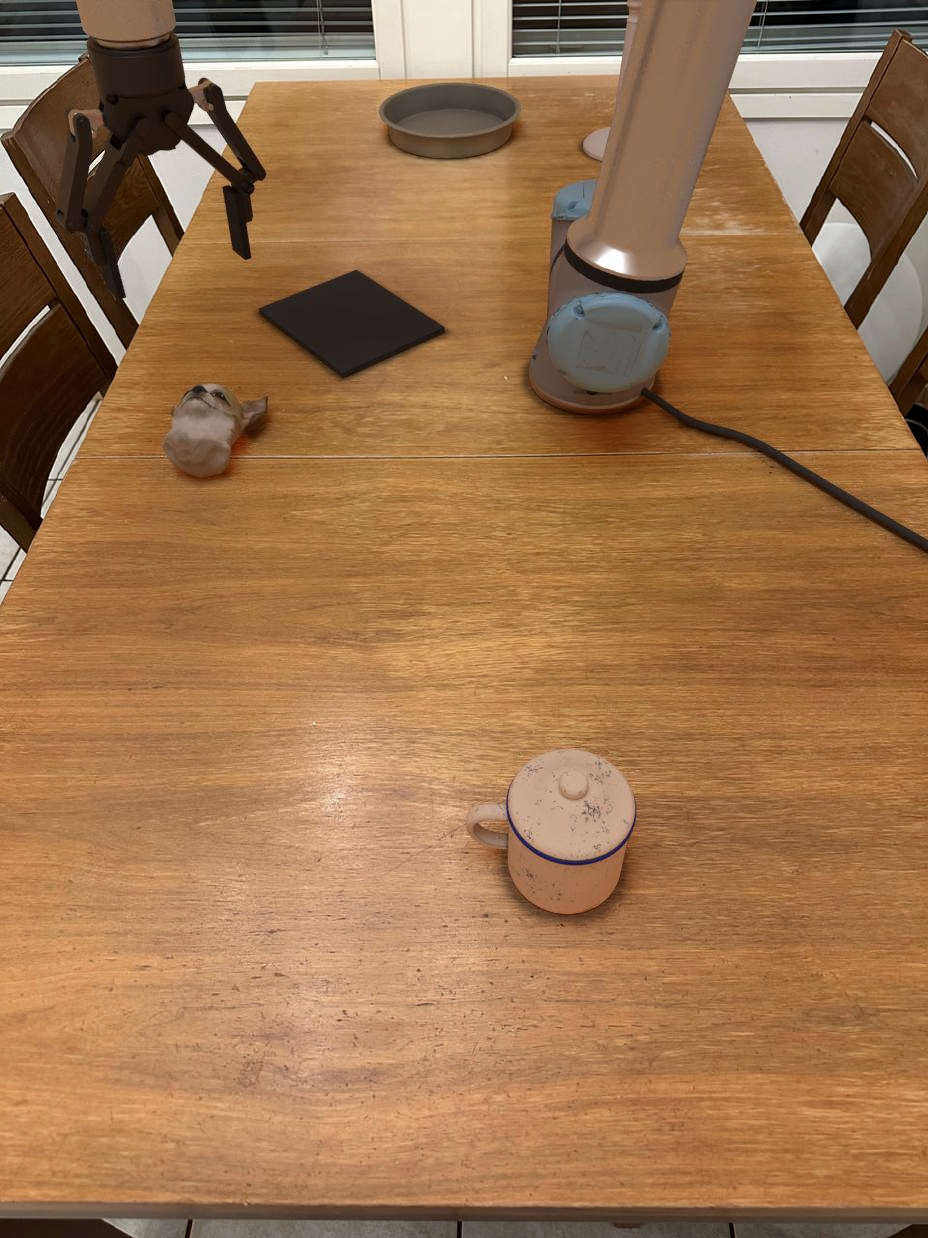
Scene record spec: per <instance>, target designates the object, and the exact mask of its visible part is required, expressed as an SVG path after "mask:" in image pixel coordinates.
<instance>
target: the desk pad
mask: <svg viewBox="0 0 928 1238" xmlns="http://www.w3.org/2000/svg"><path fill="white" fill-rule="evenodd" d="M258 313H259V315H260V316H262V317H263V318H264V319H266V320H267V321H268V322H270V323H271V324H272V325H273V326H275V327H276V328H277V329H278V330H280V331H281V332H282V333H284V334H285V335H286V336H288V337H289V338H290V339H292V340H293V341H294V342H295V343H297V344H298V345H299V346H301V347H302V348H303V349H305V350H306V351H308V352H309V353H310V354H311V355H313V356H314V357H315V358H316V359H318V360H319V361H321V362H322V363H323V364H324V365H325V366H327V367H328V368H330V369H331V370H332V371H334V373H336V374H337V375H339V376H340V377H341V378H343V379H344V378H347V377H349V376H351V375H354V374H356V373H358V372H360V371H362V370H365V369H367V368H369V367H371V366H374V365H375V364H377V363H379V362H382V361H385V360H387V359H389V358H391V357H393V356H395V355H398V354H400V353H402V352H405V351H407V350H410V349H411V348H414V347H415V346H418V345H420V344H422V343H424V342H426V341H429V340H432V339H433V338H436V337H437V336H440V335H443V334H444V333H445V326H444V325H442V324H440V323H439V322H437V321H436V320H435V319H433V318H431V317H430V316H428V315H427V314H425V313H424V312H422V311H420V310H419V309H417V308H416V307H414V306H413V305H412V304H410V303H409V302H407V301H405V300H403V299H402V298H401V297H400V296H398V295H396V294H395V293H394V292H391V291H390V290H389V289H388V288H385V287H384V286H383V285H381V284H379V282H376V281H375V280H374V279H372V278H370V277H369V276H367V275H366V274H364V273H362V272H361V271H359V270H358V269H353V270H352V271H349V272H347V273H344V274H342V275H339V276H337V277H333V278H331V279H329V280H326V281H324V282H321V283H319V284H317V285H314V286H312V287H308V288H307V289H304V290H301V291H298V292H296V293H294V294H291V295H289V296H286V297H283V298H280V299H279V300H276V301H274V302H270V303H269V304H266V305H264V306H260V307H258Z"/></svg>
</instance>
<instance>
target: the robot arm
mask: <svg viewBox="0 0 928 1238" xmlns="http://www.w3.org/2000/svg"><path fill="white" fill-rule="evenodd" d="M75 3H76V7H77V11H78V15H79V18H80V19H79V20H80V23H81V27H82V30H83V32H84V33H85V34H86V35H87V36H89V37H88V38H87V41H86V50H87V53H88V58H89V62H90V66H91V70H92V74H93V78H94V82H95V86H96V90H97V94H98V106H97V108H96V109H95V108H94V109H83V110H79V109H78V108H76V107H74V106H67V107H66V109H65V111H64V118H65V124H66V131H67V139H66V140H67V141H66V147H65V153H64V158H63V164H62V169H61V176H60V181H59V188H58V193H57V199H56V205H55V209H54V210H55V211H54V219H55V220H56V221H57V223H58V224H59V225H60V226H61V227H62V228H63V229H64V230H65V231H67V232H68V233H69V234H74V233H77V232H79V233H81V236H82V239H83V243H84V247H85V250H86V254H87V257H88V259H90V261H91V262H92V263H93V264H94V265H95V266H96V267H98V268H99V267H101V269H102V273H103V277H104V280H105V283H106V288H107V289H108V290H109V291H110V292H111V293H112V294H113V296H115V298H116V299H117V300H119V301H120V300H124V299H125V298H127V294H126V290H125V287H124V282H123V279H122V276H121V275H122V274H121V271H120V268H119V264H118V260H117V256H116V252H115V248H114V245H113V241H112V236H111V233H110V231H109V230H108V229H107V228H105V226H104V225H103V223H104V221H105V219H106V217H107V214H108V212H109V210H110V208H111V206H112V203H113V201H114V199H115V197H116V194H117V193H118V191H119V188H120V186H121V184H122V181H123V180H124V178H125V175H126V173H127V171H128V169H129V168H131V167H132V166H133V164H134V163H135V160H136V158H137V157H138V155H140V156H142V157H144V158H145V157H149V156H153V155H155V154H156V153H158V152H160V151H162V152H163V151H164V152H167V151H168V152H170V151H173V150H177V146H178V145H179V144H180V143H181V141H182V142H184V143H185V144H186V146H188V147H189V148H190V149H191V150H193V151H194V152H195V153H196V154H197V155H198V156H199V157H200V158H202V159H203V160H204V161H205V162H206V163H207V164H208V165H210V166H211V167H212V168H213V169H214V170H216V172H218V173H219V174H220V175H221V176H222V177H224V179H226V180H227V181H228V182H229V183H230V184H231V185H230V184H227V185H223V186H222V187H221V189H222V195H223V201H224V207H225V212H226V213H225V214H226V219H227V225H228V231H229V237H230V244H231V249H232V251H233V252H234V253H236V255H238V256H239V257H240V258H242V259H243V260H244V261H249V260H251V259H252V251H251V245H250V239H249V238H250V237H249V231H248V225H247V223H251V222H253V218H254V212H253V206H252V198H251V195H253V194H254V192H255V191H256V187H255V183H257V182H262V181H264V180H265V179H266V177H267V171H266V169H265V168H264V166H263V164H262V163H261V161H260V160H259V158H258V157H257V155H256V153H255V152H254V150H253V149H252V147H251V146H250V144H249V142H248V141H247V139H246V138H245V136H244V134H243V133H242V131H241V129H240V128H239V127H238V125H237V124H236V122H235V120H234V119H233V117H232V116H231V114H230V113H229V111H228V108H227V105H226V104H227V103H226V101H225V96H224V93H223V90H222V88H221V87H220V86H219V85H217V84H216V83H214V82H213V81H212V80H210V79H208V78H207V77H201V78H199V79H198V81H197V85H194V86H192V87H189V88H188V86H187V83H186V73H185V68H184V61H183V56H182V51H181V44H180V38H179V36H178V35H177V34H175V32H174V31H173V30H175V28H176V26H177V20H176V16H175V10H174V5H173V0H75ZM757 3H758V0H643V1H642V5H641V9H640V13H639V17H638V21H637V25H636V29H635V33H634V37H633V41H632V45H631V49H630V52H629V56H628V60H627V64H626V68H625V72H624V76H623V80H622V84H621V88H620V92H619V96H618V100H617V104H616V108H615V107H614V110H615V112H614V111H613V115H612V121H611V123H610V126H609V127H610V131H609V135H608V139H607V143H606V147H605V151H604V155H603V159H602V161H601V164H600V166H599V171H598V175H597V178H592V179H582V180H579V181H574V182H571V183H569V184H567V185H564V186H563V187H561V188H560V189H559V190H558V191H557V192H556V194H555V196H554V198H553V202H552V203H553V204H552V210H551V211H552V212H551V213H550V215H549V216H550V219H551V230H550V231H551V232H550V250H549V270H548V287H547V288H548V289H547V309H546V318H545V322H544V324H543V326H542V328H541V331H540V334H539V336H538V339H537V341H536V345H535V346H534V349H533V351H532V352H531V355H530V360H529V364H528V365H529V366H528V379H529V380H528V381H529V385H530V387H531V388H532V390H533V392H534V393H535V394H536V395H537V396H538V397H539V398H540V399H541V400H542V401H544V402H546V403H548V404H549V405H551V406H553V407H555V408H558V409H560V410H564V411H567V412H570V413H575V414H582V415H598V416H599V415H611V414H616V413H621V412H625V411H627V410H629V409H632V408H635V407H636V406H638V405H640V404H642V403H643V402H644V401H645V400H646V399H647V400H648V401H650V402H652V403H653V404H655V405H656V406H658V407H659V408H661V409H662V410H664V412H666V413H667V414H669V415H670V416H671V417H673V418H675V419H676V420H678V421H679V422H681V423H683V424H685V425H688V426H689V427H693V428H695V429H698V430H701V431H704V432H706V433H710V434H715V435H719V436H722V437H724V438H725V437H726V438H729V439H732V440H735V441H739V442H741V443H744V444H746V445H748V446H750V447H753V448H754V449H756V450H759V451H761V452H763V453H764V454H767V455H768V456H770V457H771V458H773V459H774V460H776V461H777V462H779V463H780V464H782V465H784V466H786V467H787V468H788V469H790V470H792V471H793V472H795V473H796V474H798V475H800V476H801V477H803V478H804V479H806V480H807V481H809V482H810V483H813V484H815V485H816V486H818V487H819V488H821V489H823V490H824V491H826V492H827V493H829V494H831V495H832V496H834V497H836V498H838V499H839V500H841V501H842V502H844V503H846V504H848V505H849V506H851V507H853V508H854V509H856V510H858V511H859V512H861V513H863V514H864V515H865V516H868V517H869V518H871V519H873V520H874V521H876V522H877V523H879V524H881V525H883V526H884V527H886V528H887V529H889V530H891V531H893V532H894V533H896V534H898V535H899V536H901V537H903V538H904V539H906V540H908V541H910V543H911V542H912V543H913V544H915V545H916V546H918V547H920V548H921V549H924V550H925V551H927V552H928V538H926V537H924V536H922V535H920V534H918V533H917V532H915V531H913V530H912V529H910V528H909V527H906V526H905V525H903V524H901V523H899V522H898V521H896V520H894V519H893V518H891V517H889V516H887V515H886V514H884V513H882V512H881V511H879V510H878V509H876V508H874V507H872V506H870V505H869V504H867V503H865V502H864V501H862V500H861V499H859V498H858V497H855V496H854V495H852V494H851V493H849V492H847V491H845V490H844V489H842V488H841V487H839V486H837V485H835V484H834V483H832V482H830V481H829V480H828V479H826V478H824V477H822V476H820V475H819V474H817V473H815V472H813V471H812V470H810V469H809V468H807V467H806V466H804V465H802V464H800V462H799V463H798V461H796V460H795V459H793V458H791V457H790V456H788V455H787V454H785V453H783V452H782V451H780V450H779V449H777V448H776V447H773V446H771V445H770V444H768V443H766V442H764V441H763V440H760V439H759V438H756V437H753V436H751V435H749V434H747V433H744V432H741V431H739V430H735V429H731V428H728V427H725V426H721V425H717V424H713V423H710V422H706V421H703V420H700V419H697V418H695V417H693V416H691V415H688V414H686V413H684V412H682V411H681V410H679V409H678V408H676V407H675V406H674V405H673V404H671V403H670V402H668V401H667V400H665V399H664V398H662V397H661V396H659V395H657V394H656V393H655V392H653V390H654V388H655V387H654V386H655V381H656V376H657V372H658V371H659V370H660V369H661V367H662V366H663V364H664V363H665V361H666V359H667V356H668V354H669V349H670V344H671V340H672V339H671V336H672V328H671V325H670V322H669V320H670V315H671V312H672V308H673V306H674V302H675V301H676V297H677V294H678V291H679V288H680V285H681V282H682V279H683V276H684V273H685V270H686V267H687V264H688V261H689V254H688V252H687V249H686V248H685V246H684V244H683V242H682V240H681V239H680V237H679V236H680V234H681V231H682V228H683V224H684V222H685V218H686V216H687V212H688V209H689V207H690V203H691V201H692V198H693V195H694V192H695V189H696V186H697V183H698V179H699V176H700V173H701V171H702V168H703V165H704V162H705V159H706V155H707V153H708V149H709V147H710V144H711V141H712V138H713V134H714V133H715V129H716V126H717V123H718V121H719V117H720V114H721V110H722V107H723V104H724V101H725V98H726V95H727V92H728V89H729V86H730V83H731V81H732V78H733V75H734V71H735V68H736V65H737V64H738V63H737V62H738V60H739V58H740V54H741V50H742V47H743V45H744V41H745V39H746V36H747V32H748V30H749V26H750V24H751V21H752V17H753V14H754V13H755V9H756V5H757ZM195 105H197V107H198V108H200V109H201V110H202V111H203V112H206V114H207V115H208V117H209V119H210V120H211V121H212V123H213V124H214V127H216V129H217V131H218V133H219V134H220V135H221V137H222V138H223V139H224V141H225V143H226V144H227V146H228V147H229V149H230V150H231V153H232V154H233V155H234V156H235V158H236V160H237V161H238V163H239V165H240V166H241V167H240V168H239V169H237V168H235V166H233V165H232V164H231V163H230V162H229V161H228V160H227V159H226V158H224V157H223V155H222V154H220V153H219V152H218V151H217V150H216V149H215V148H213V147H212V146H211V145H210V144H209V143H208V142H207V141H205V140H204V138H203V137H201V135H199V134H198V133H197V132H196V131H195V130H194V129H193V128H192V127H191V126H189V121H190V119H191V116H192V113H193V111H194V108H195ZM102 126H104V127H105V128H106V129H107V130H108V131H109V134H108V137H107V139H106V141H105V143H104V145H103V146H104V147H103V149H104V152H103V155H102V157H101V158H100V161H99V164H98V166H97V168H96V170H95V172H94V175H93V177H92V179H91V182H90V183H89V186H88V188H87V183H88V177H89V173H90V168H91V162H92V157H93V149H94V147H93V146H94V141H93V140H95V139H96V138H98V133H99V129H100V127H102ZM86 188H87V191H86Z"/></svg>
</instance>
